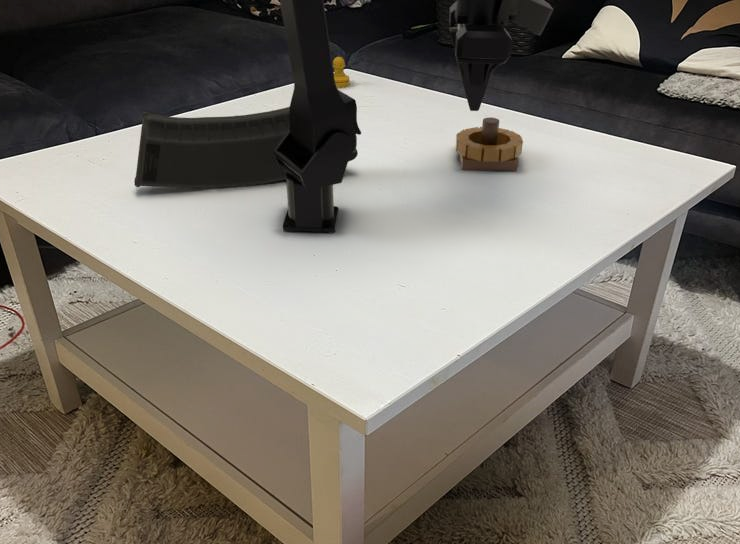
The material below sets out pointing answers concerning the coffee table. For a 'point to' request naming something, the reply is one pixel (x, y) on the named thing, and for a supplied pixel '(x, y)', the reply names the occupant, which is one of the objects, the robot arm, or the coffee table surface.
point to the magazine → (211, 150)
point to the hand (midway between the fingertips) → (471, 99)
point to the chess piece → (340, 73)
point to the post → (489, 138)
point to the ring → (488, 153)
